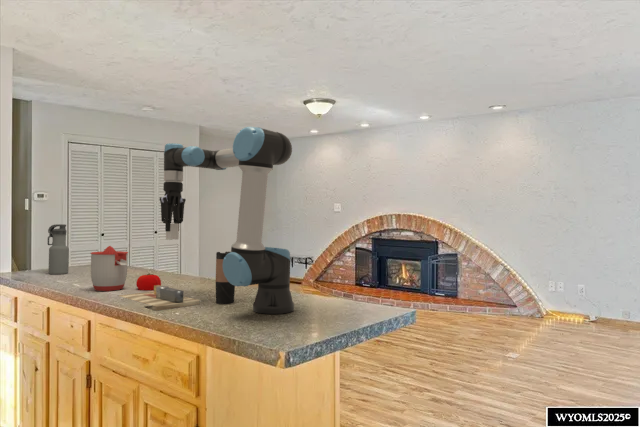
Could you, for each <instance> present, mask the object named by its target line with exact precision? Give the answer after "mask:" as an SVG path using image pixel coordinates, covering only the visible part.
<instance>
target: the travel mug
mask: <svg viewBox="0 0 640 427" xmlns="http://www.w3.org/2000/svg"><path fill="white" fill-rule="evenodd" d="M230 252H231V251H225V252H220V251H216V253H215V257H216V258H215V303H216V304H218V305H230V304H234V303H235V292H236V291H235V290H236V288H235V287H236V286H234V285H232V284H230V283H229V282H228V280H227V278H226V277H225V275H224V272H223V259H224V257H226V255H227V254H228V253H230Z"/></svg>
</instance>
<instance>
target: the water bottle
mask: <svg viewBox="0 0 640 427" xmlns="http://www.w3.org/2000/svg"><path fill="white" fill-rule="evenodd" d="M66 227H67V224H61V223H60V224H58V223H57V224H52V225H51V226H49V228H48V229H47V232H48V235H49V236H47V245H48V246H50V247H49V248H48V274H49V275H52V276H56V275H68V273H69V262H70V261H69V259H70V255H69V252H70V249H69V247H68V245H67V228H66ZM50 238H51V239H52V241H51V242H52V243H50Z"/></svg>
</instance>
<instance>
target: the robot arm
mask: <svg viewBox="0 0 640 427" xmlns="http://www.w3.org/2000/svg"><path fill="white" fill-rule="evenodd" d="M163 149H164V152H163V181H164V182H163V188H162V190H163V191H164V196H160V197H159V202H160V213H161V214H160V216H161V222H162V223H163V224H165V228H164V230H165V240H167V241H168V240H169V241H171V240H172V241H173V240H179V234H180V232H179V231H180V224H182V223H183V222H184V214H185V204H186V198H183V197H182V192H183V190H184V188H183V187H184V183H183V181H184V167H192V168H201V169H208V170H209V169H210V170H216V171H225V170H227V169H228V168H234V167H236V168H237V167H238V168H239V169H240V171H242V172H241V173H242V174H241V185H240V186H241V187H240V198H239V208H238V218H237V229H236V230H237V231H236V241H235V242H233V244H232V245H231V248H230V251H229V252H230V253H228V254H227V255H226V257H224V259H223V272H224V275H225V277H226V278H227V280H228V282H229V283H230V284H232V285H234V286H235V287H248V286H254V285H257V291H256V295H255V298H254V302H253V304H252V311H253V312H255V313H259V314H267V315H275V314H276V315H279V314H280V315H281V314H288V313H292V312H294V310H295V302H293V296H292V293H291V290H290V289H291V288H290V284H291V262H292V260H291V252H290V250H289V249H286V248H280V247H273V246H272V247H271V246H270V247H269V246H264V244H263V243H262V242H263V240H262V239H263V230H264V218H265V208H266V198H267V197H266V196H267V187H268V186H267V185H268V177H269V176H268V175H269V173H271V172H272V171H273V168H274V166H280V165H281V166H282V165H283V164H285V163H287V161H289V160H290V158H291V156H292V152H293V147H292V142H291V140H290V139H289V138H288V137H287V136H286V135H285V134H283V133H281V132H278V131H274V130H270V129H266V128H262V127H259V126H257V127H256V126H246V127H243V128H242V129H241V130H239V132H238V133H237V134H236V135H235V137H234V140H233V143H232V147H231V148H224V149H218V150H217V149H216V150H209V149H203V148H201V147H199V146H197V145H196V146H195V145H194V146H193V145H190V146H186V147H184V144H180V143H165V145H164V148H163ZM172 222H173V223H172Z"/></svg>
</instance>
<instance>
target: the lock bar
mask: <svg viewBox="0 0 640 427" xmlns="http://www.w3.org/2000/svg"><path fill="white" fill-rule="evenodd" d="M184 297H185V296H184V290H183V289H182V290H181V289H177V288H173V287H169V286H167V285H166V286H165V285H161V286H158V287H156V298H158V299H164V300H167V301H171V302H176V303H180V302H183V299H184Z"/></svg>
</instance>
